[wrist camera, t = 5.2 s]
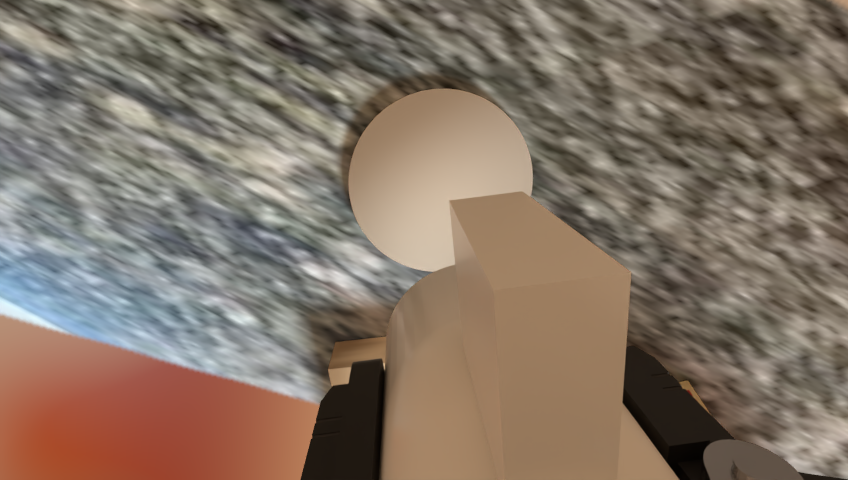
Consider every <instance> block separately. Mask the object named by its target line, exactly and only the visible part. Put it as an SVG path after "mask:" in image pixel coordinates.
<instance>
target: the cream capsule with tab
mask: <svg viewBox="0 0 848 480" xmlns="http://www.w3.org/2000/svg"><path fill="white" fill-rule="evenodd" d="M449 205H450V216H451V226H452V236H453V247H454V257H455V265H451V266H448V267H445V268H442V269H439V270H437V271H435V272H433V273H431V274H429V275H427V276H426V277H424V278H422V279H421V280H419V281H418V282H417V283H416V284H414V285H413V286H412V287H411V288H410V289H409V290H408V291H407V292H406V293H405V294H404V295H403V297H402V298H401V299H400V301H399V302H398V303H397V305H396V307H395V309H394V311H393V312H392V315H391V318H390V320H389V324H388V328H387V336H386V354H385V373H384V391H383V410H382V428H381V446H380V465H379V480H679V478H678V477H677V476H676V474H675V473H674V472H673V470H672V469H671V468H670V466H669V465H668V464H667V462H666V461H665V459H664V458H663V457H662V455H661V454H660V453H659V451H658V450H657V449H656V447H655V446H654V445H653V443H652V442H651V440H650V439H649V438H648V436H647V435H646V434H645V432H644V431H643V430H642V428H641V427H640V426H639V424H638V423H637V421H636V420H635V419H634V417H633V416H632V415H631V413H630V412H629V411H628V409H627V408H626V407H625V405H624V404H623V402H622V401H623V386H624V372H625V357H626V343H627V328H628V313H629V299H630V284H631V272H630V271H629V270H628V269H626V268H625V267H624V266H622V265H621V264H620V263H618V262H617V261H616V260H614V259H613V258H612V257H610V256H609V255H608V254H606V253H605V252H604V251H602V250H601V249H599V248H598V247H597V246H595V245H594V244H593V243H591V242H590V241H589V240H587V239H586V238H585V237H583V236H582V235H581V234H579V233H578V232H577V231H575V230H574V229H573V228H571V227H570V226H569V225H567V224H566V223H565V222H563V221H562V220H560V219H559V218H558V217H556V216H555V215H554V214H552V213H551V212H550V211H548V210H547V209H546V208H544V207H543V206H542V205H540V204H539V203H538V202H536V201H535V200H534V199H532V198H531V197H530V196H528V195H527V194H526V193H524V192H523V191H520V192H512V193H504V194H496V195H489V196H481V197H473V198H465V199H457V200H449Z"/></svg>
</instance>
